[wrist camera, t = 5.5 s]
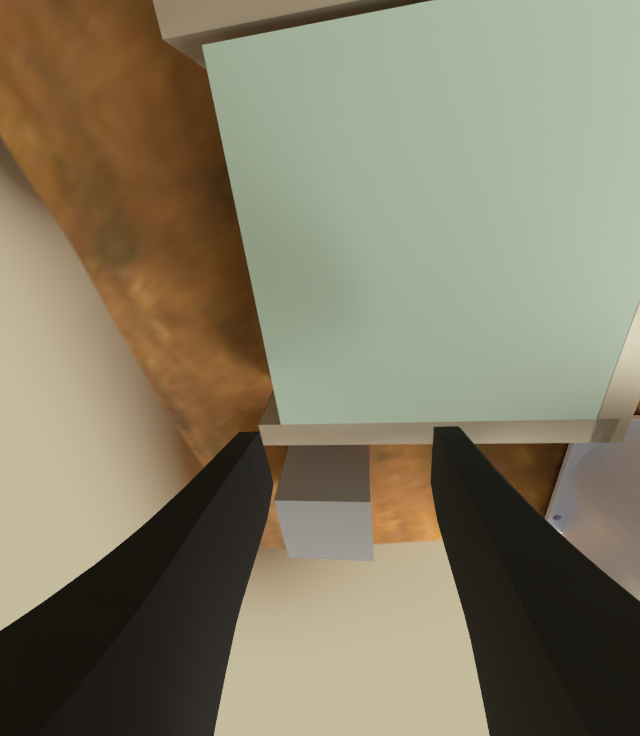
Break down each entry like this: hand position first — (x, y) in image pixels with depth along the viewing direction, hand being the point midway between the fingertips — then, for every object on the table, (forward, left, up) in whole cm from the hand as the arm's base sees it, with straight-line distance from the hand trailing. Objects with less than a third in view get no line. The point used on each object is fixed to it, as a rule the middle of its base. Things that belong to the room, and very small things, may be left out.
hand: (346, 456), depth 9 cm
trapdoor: (+4, -3, -5) cm, 7 cm away
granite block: (-10, +2, -10) cm, 14 cm away
